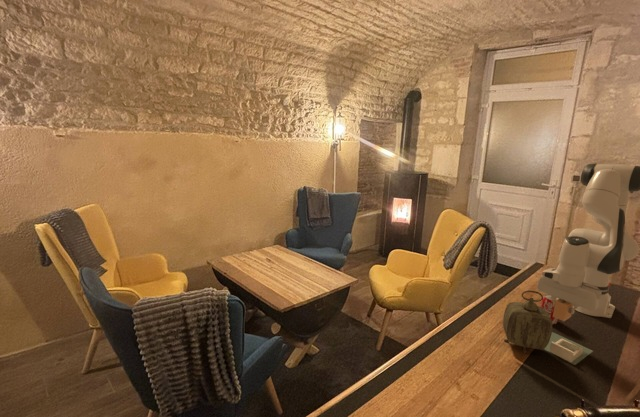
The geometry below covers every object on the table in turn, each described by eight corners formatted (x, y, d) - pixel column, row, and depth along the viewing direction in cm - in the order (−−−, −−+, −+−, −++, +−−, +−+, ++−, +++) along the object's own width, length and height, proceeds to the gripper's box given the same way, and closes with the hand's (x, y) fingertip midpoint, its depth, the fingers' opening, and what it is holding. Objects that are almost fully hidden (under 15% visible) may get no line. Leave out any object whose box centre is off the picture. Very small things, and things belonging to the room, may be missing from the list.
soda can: (560, 327, 144) (565, 302, 142) (542, 324, 146) (547, 300, 143) (552, 318, 151) (557, 294, 148) (535, 316, 152) (540, 292, 150)
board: (537, 327, 144) (537, 325, 143) (592, 353, 127) (593, 350, 127) (517, 338, 135) (518, 336, 135) (574, 367, 119) (574, 365, 119)
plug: (559, 312, 135) (563, 295, 133) (570, 317, 132) (574, 299, 130) (552, 316, 132) (555, 299, 130) (563, 321, 129) (567, 304, 127)
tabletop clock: (540, 348, 129) (552, 289, 124) (547, 362, 121) (560, 300, 116) (499, 339, 134) (509, 283, 128) (503, 353, 126) (514, 293, 120)
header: (560, 343, 131) (562, 335, 130) (581, 354, 125) (584, 344, 124) (549, 351, 126) (551, 342, 125) (570, 362, 120) (573, 352, 119)
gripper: (606, 286, 121) (598, 320, 124) (545, 267, 138) (540, 297, 141) (598, 290, 118) (591, 325, 121) (537, 270, 135) (532, 300, 138)
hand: (563, 309), depth 131 cm, fingers closed on plug, 4 cm apart
